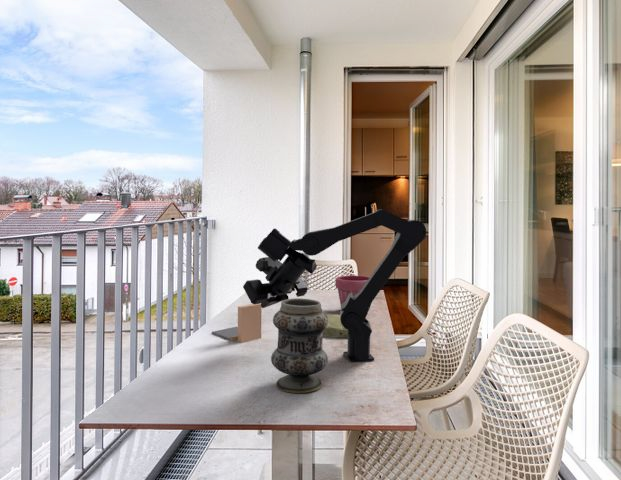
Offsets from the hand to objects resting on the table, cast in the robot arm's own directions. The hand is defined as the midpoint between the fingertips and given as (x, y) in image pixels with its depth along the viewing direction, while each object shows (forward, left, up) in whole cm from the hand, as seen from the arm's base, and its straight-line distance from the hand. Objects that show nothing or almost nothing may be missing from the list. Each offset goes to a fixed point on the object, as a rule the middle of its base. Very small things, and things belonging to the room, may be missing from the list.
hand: (262, 306), depth 122 cm
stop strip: (+7, +4, -11) cm, 13 cm away
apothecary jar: (-30, -5, -11) cm, 32 cm away
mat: (+11, +7, -11) cm, 17 cm away
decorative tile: (+13, -23, -11) cm, 29 cm away
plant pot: (+35, -37, -11) cm, 52 cm away
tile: (+5, +3, -11) cm, 12 cm away
